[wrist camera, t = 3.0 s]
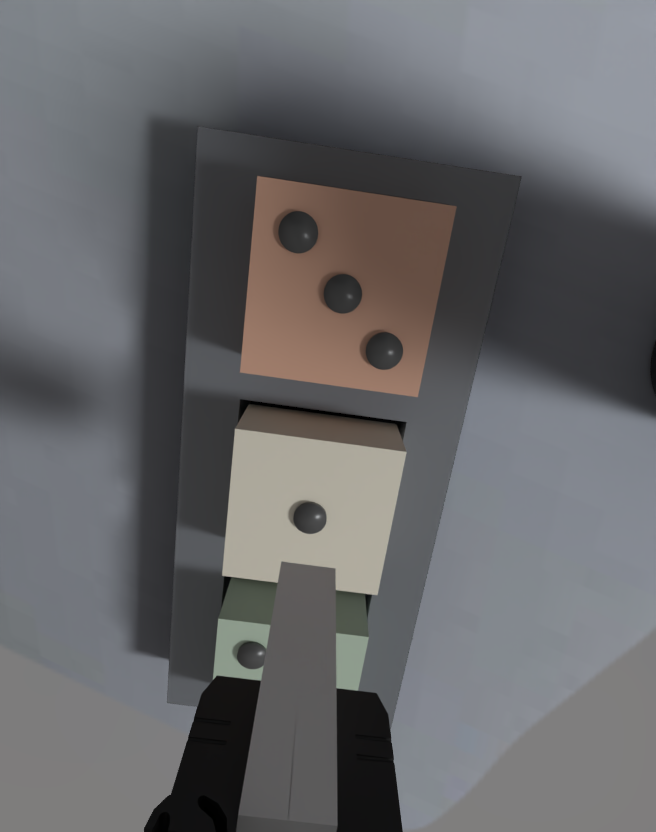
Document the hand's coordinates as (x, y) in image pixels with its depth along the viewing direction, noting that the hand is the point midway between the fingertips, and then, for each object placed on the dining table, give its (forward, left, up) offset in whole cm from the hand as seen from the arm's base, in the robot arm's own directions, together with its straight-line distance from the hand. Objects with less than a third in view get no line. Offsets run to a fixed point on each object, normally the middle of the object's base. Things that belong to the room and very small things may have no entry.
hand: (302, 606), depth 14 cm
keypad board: (0, 0, -10) cm, 10 cm away
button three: (-8, 0, -8) cm, 11 cm away
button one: (0, 0, -8) cm, 8 cm away
